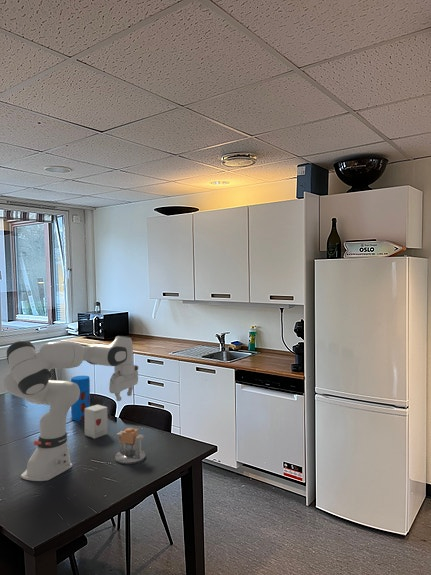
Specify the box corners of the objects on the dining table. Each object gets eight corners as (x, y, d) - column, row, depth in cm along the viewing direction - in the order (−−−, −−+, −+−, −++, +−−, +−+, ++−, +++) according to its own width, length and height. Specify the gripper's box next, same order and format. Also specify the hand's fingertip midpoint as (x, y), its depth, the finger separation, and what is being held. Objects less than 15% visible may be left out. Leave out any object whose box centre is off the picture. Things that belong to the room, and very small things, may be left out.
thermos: (70, 416, 263) (70, 376, 262) (88, 414, 267) (88, 374, 267) (72, 422, 253) (72, 380, 252) (91, 419, 258) (90, 378, 257)
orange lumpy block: (138, 444, 198) (138, 432, 198) (116, 442, 200) (116, 430, 200) (143, 439, 203) (143, 428, 203) (121, 438, 206) (121, 426, 206)
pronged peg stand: (137, 465, 194) (137, 441, 193) (109, 462, 197) (109, 438, 197) (149, 453, 207) (149, 430, 207) (123, 450, 211) (122, 428, 210)
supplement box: (94, 439, 226) (94, 411, 226) (84, 435, 232) (83, 408, 231) (108, 434, 233) (107, 406, 233) (97, 430, 239) (97, 404, 239)
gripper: (117, 374, 193) (118, 404, 193) (140, 365, 212) (140, 393, 213) (105, 373, 195) (106, 403, 195) (129, 364, 214) (129, 392, 215)
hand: (124, 398), depth 204 cm, fingers open, 8 cm apart
